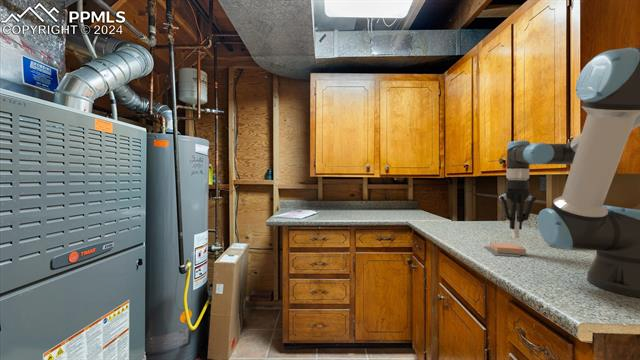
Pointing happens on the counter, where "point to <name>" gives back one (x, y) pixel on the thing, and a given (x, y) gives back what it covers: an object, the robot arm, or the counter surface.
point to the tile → (507, 248)
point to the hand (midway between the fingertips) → (515, 237)
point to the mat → (500, 253)
